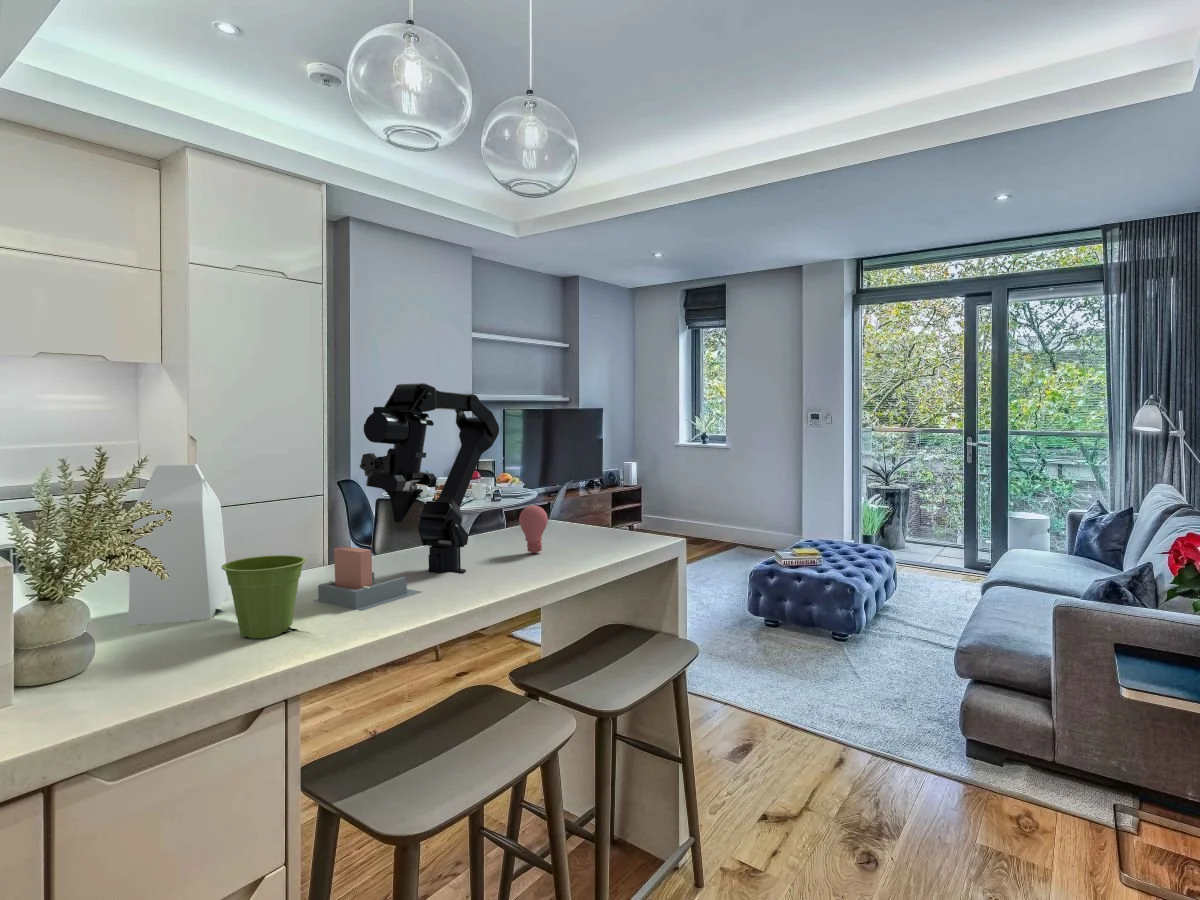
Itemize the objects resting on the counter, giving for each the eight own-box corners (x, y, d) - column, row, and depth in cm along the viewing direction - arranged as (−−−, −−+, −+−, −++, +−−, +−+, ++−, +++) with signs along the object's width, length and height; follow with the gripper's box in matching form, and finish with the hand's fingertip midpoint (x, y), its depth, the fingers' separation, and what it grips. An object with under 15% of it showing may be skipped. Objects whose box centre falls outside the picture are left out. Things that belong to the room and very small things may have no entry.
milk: (128, 625, 107) (122, 467, 106) (155, 606, 118) (150, 463, 117) (210, 619, 110) (205, 466, 109) (229, 601, 121) (225, 461, 120)
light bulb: (517, 551, 165) (516, 504, 165) (544, 549, 167) (544, 503, 167) (522, 556, 159) (521, 507, 158) (550, 554, 161) (550, 506, 160)
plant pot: (320, 630, 104) (319, 560, 103) (240, 650, 95) (238, 574, 94) (289, 616, 112) (287, 551, 111) (212, 633, 103) (210, 562, 102)
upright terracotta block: (350, 593, 121) (349, 545, 121) (376, 598, 117) (375, 549, 117) (335, 597, 118) (334, 548, 118) (361, 602, 115) (360, 552, 114)
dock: (375, 588, 130) (374, 567, 130) (422, 596, 123) (422, 574, 123) (313, 605, 118) (312, 582, 117) (361, 616, 111) (361, 592, 111)
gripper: (394, 441, 141) (383, 512, 141) (346, 438, 123) (334, 519, 123) (442, 448, 139) (431, 520, 139) (401, 447, 121) (388, 529, 121)
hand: (397, 522), depth 131 cm, fingers closed
